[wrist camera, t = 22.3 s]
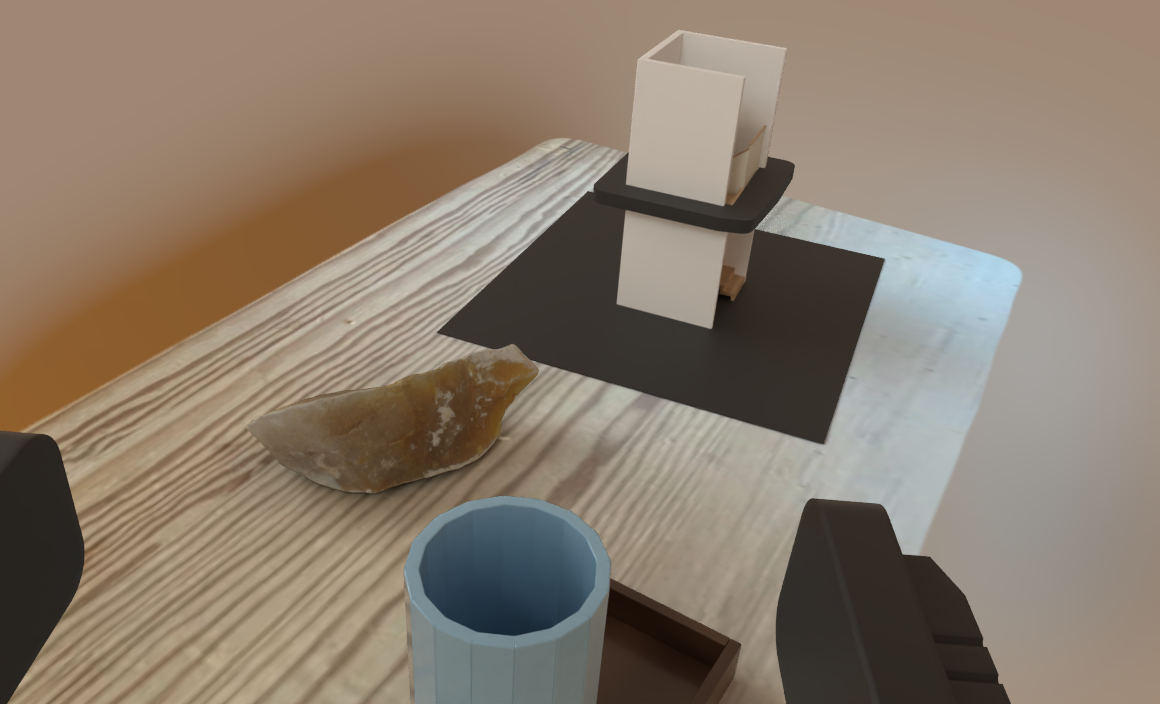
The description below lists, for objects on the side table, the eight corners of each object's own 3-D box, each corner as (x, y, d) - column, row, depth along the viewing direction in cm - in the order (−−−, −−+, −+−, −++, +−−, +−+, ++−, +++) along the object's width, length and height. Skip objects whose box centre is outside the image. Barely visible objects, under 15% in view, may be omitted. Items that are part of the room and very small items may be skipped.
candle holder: (823, 443, 53) (895, 163, 44) (436, 332, 60) (430, 71, 51) (884, 258, 72) (942, 39, 63) (588, 191, 79) (602, -15, 71)
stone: (227, 355, 45) (516, 279, 51) (243, 435, 50) (505, 357, 56) (271, 473, 41) (577, 376, 47) (284, 547, 46) (560, 450, 52)
